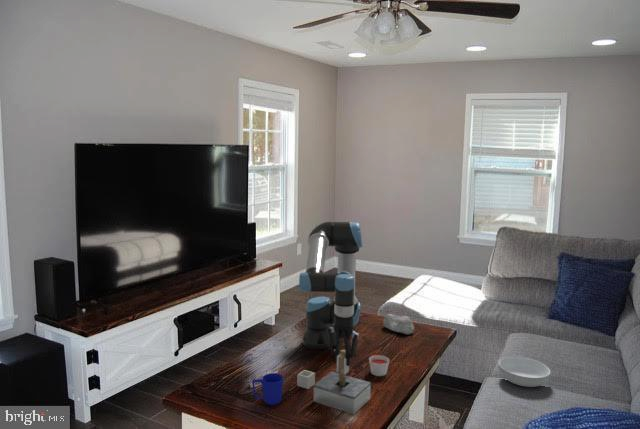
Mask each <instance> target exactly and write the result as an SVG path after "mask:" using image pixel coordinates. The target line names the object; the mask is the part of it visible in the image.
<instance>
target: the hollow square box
mask: <svg viewBox="0 0 640 429" xmlns="http://www.w3.org/2000/svg"><path fill="white" fill-rule="evenodd" d="M296 375H297V376H296V378H297V379H296V380H297V381H296V386H297V387H301V388H303V389H306V390H309V389H311V388H312V387H314V384H316V372H313V371H310V370H306V369H303V370H302V371H300V372H299V373H298V374H296Z"/></svg>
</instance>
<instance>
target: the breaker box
mask: <svg viewBox="0 0 640 429" xmlns="http://www.w3.org/2000/svg"><path fill="white" fill-rule="evenodd" d="M371 383H372V382H370V381H367V380H363V379H359V378H357V377H356V378H355V377H353V376H349V375H346V384H345V387H341V386H339V372H335V371H330V372H329V373H328V374H326V375H325V376H323V377H322V378H321V379H320V380H318V381H317V382H315V384H314V385H313V402H314V403H317V404H321V405H324V406H327V407H329V408H332V409H336V410H339V411H342V412H345V413H348V414H352V415H355V414H356V413H357V412H358V411H359V410H360V409H361V408H362V407H363V406H365V404H367V403H368V402H369V400H371V385H372V384H371Z"/></svg>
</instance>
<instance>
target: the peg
mask: <svg viewBox="0 0 640 429" xmlns="http://www.w3.org/2000/svg"><path fill="white" fill-rule="evenodd" d="M345 357H346V352H345V349H341V350H340V361H339V372H338V373H339V386H341V387H345V384H346V376H347V373H346V374H344V358H345Z"/></svg>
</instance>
